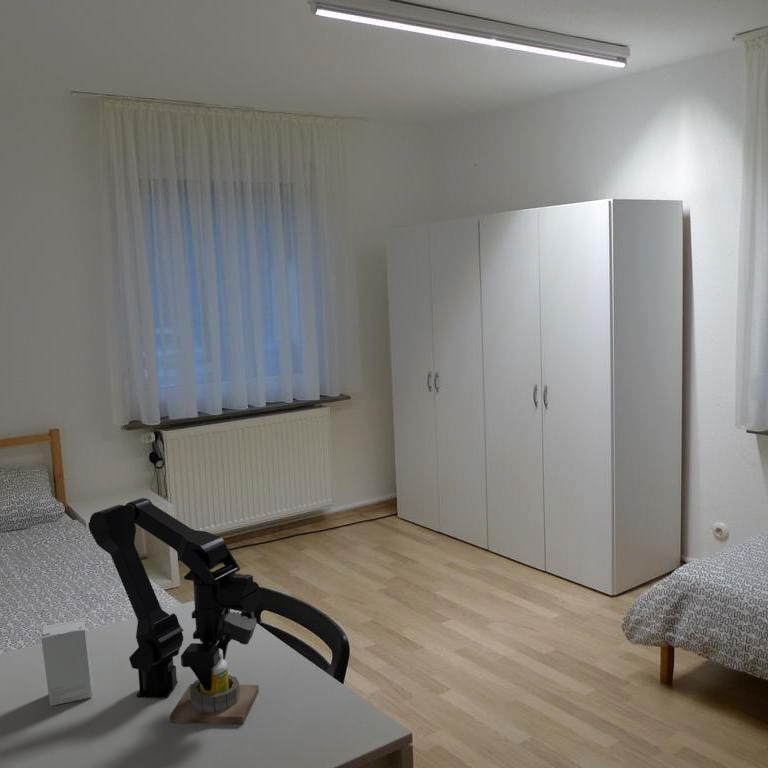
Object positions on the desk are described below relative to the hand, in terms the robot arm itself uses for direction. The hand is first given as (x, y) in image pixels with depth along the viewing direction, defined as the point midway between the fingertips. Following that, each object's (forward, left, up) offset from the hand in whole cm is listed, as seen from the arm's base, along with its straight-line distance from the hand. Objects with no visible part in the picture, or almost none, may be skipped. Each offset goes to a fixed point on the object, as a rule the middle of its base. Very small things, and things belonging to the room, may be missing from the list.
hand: (214, 680), depth 157 cm
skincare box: (-31, +3, -6) cm, 32 cm away
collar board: (0, 0, -6) cm, 6 cm away
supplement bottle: (0, 0, -4) cm, 4 cm away
